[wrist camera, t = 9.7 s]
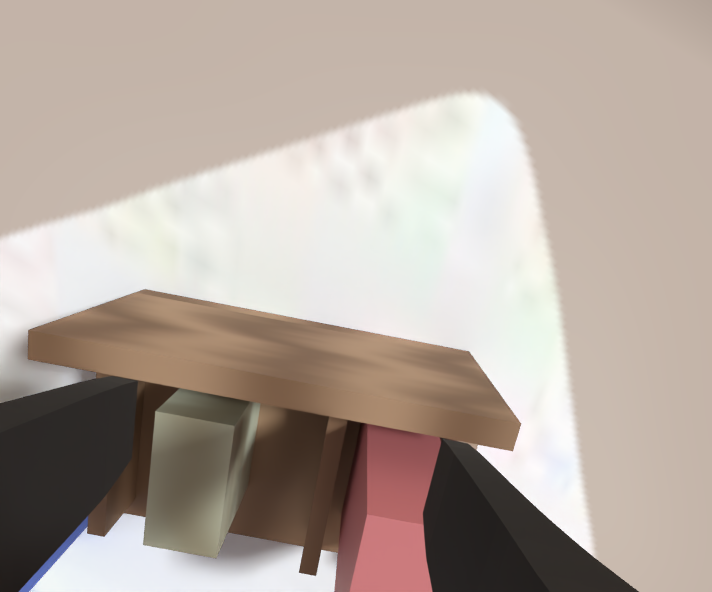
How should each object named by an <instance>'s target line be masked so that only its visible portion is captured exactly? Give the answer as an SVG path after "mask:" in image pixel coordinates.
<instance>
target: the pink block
mask: <svg viewBox="0 0 712 592" xmlns="http://www.w3.org/2000/svg"><path fill="white" fill-rule="evenodd" d="M440 445H441V440H440V437H435V436H430V435H425V434H420V433H414V432H409V431H404V430H398V429H393V428H388V427H383V426H377V425H372V424H367V423H361V424H360V429H359V434H358V438H357V443H356V448H355V452H354V457H353V462H352V466H351V471H350V476H349V481H348V485H347V490H346V495H345V499H344V504H343V509H342V513H341V523H340V534H339V546H338V557H337V569H336V580H335V591H334V592H432V586H431V581H430V576H429V571H428V565H427V560H426V551H425V540H424V525H423V510H424V506H425V502H426V498H427V495H428V491H429V487H430V483H431V479H432V476H433V472H434V468H435V464H436V460H437V457H438V453H439V449H440Z"/></svg>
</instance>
